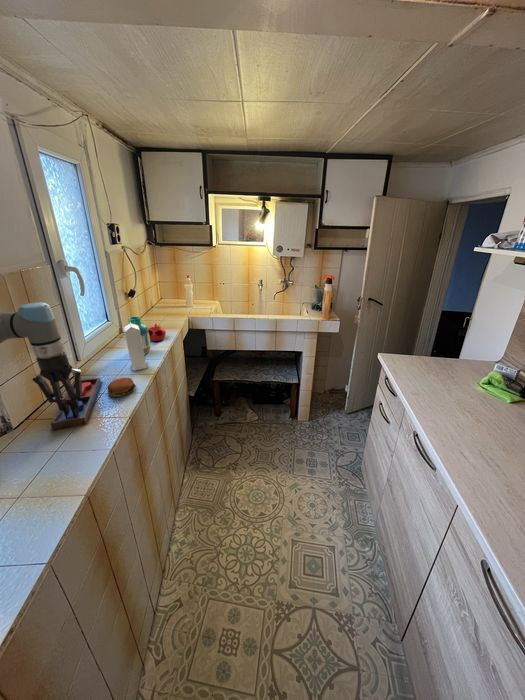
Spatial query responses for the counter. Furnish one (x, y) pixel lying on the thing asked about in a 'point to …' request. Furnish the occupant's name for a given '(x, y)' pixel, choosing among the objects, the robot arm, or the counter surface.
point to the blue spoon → (77, 408)
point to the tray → (88, 401)
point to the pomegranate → (156, 333)
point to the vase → (142, 332)
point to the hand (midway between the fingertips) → (72, 416)
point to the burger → (121, 387)
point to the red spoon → (85, 387)
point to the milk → (135, 347)
